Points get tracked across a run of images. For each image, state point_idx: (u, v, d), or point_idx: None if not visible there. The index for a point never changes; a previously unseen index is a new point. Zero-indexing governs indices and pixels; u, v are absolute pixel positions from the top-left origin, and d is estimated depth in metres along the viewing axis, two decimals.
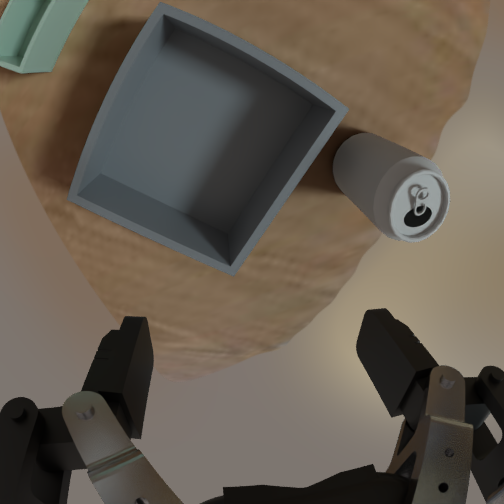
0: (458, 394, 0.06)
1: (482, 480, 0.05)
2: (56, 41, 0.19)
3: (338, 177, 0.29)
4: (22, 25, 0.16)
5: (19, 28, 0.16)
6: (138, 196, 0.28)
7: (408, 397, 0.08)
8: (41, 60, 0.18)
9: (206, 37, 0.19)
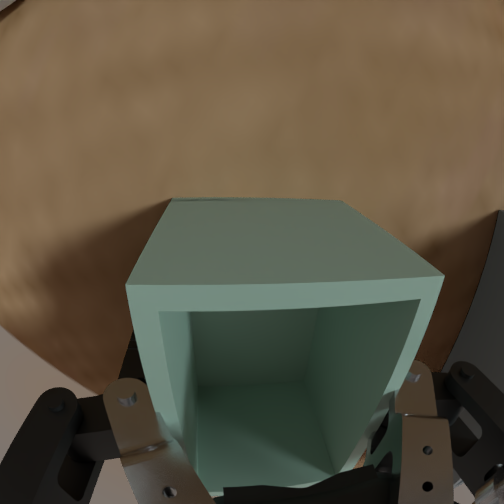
0: (423, 388, 0.07)
1: (465, 475, 0.05)
2: None
3: None
4: (190, 358, 0.10)
5: (191, 371, 0.10)
6: None
7: None
8: None
9: None
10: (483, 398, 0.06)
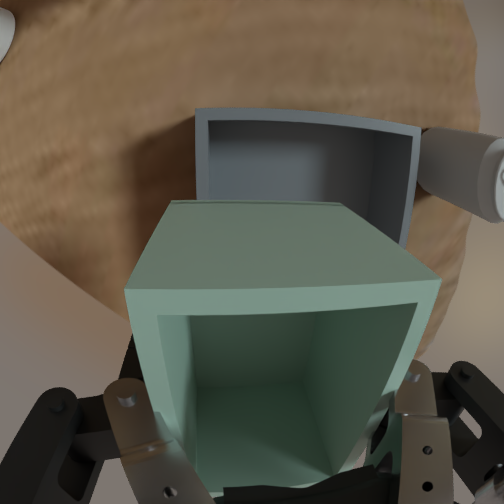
0: (422, 388, 0.07)
1: (465, 474, 0.05)
2: None
3: (427, 185, 0.26)
4: (189, 359, 0.10)
5: (190, 372, 0.10)
6: None
7: None
8: None
9: None
10: (483, 398, 0.06)
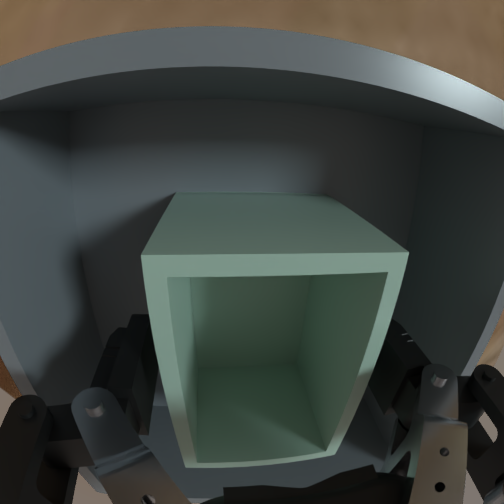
0: (450, 392, 0.06)
1: (478, 478, 0.05)
2: None
3: None
4: (190, 336, 0.11)
5: (192, 348, 0.11)
6: None
7: (400, 395, 0.08)
8: None
9: (124, 91, 0.07)
10: (502, 401, 0.05)
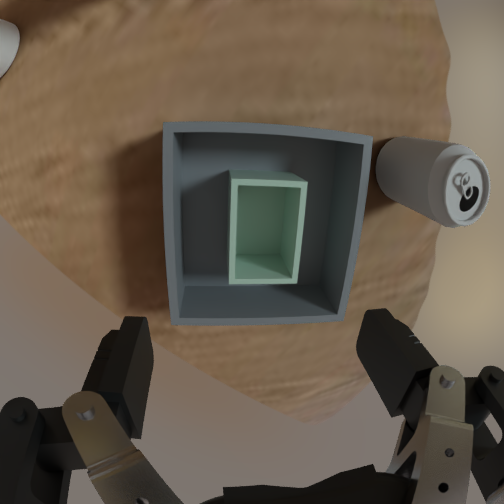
0: (458, 394, 0.06)
1: (482, 480, 0.05)
2: None
3: (388, 192, 0.29)
4: None
5: None
6: (229, 290, 0.32)
7: (408, 397, 0.08)
8: None
9: None
10: None
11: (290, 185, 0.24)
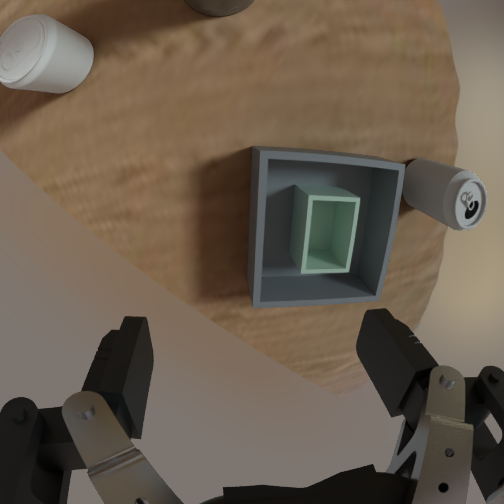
0: (458, 394, 0.06)
1: (482, 480, 0.05)
2: None
3: (410, 202, 0.37)
4: None
5: None
6: (290, 279, 0.40)
7: (408, 397, 0.08)
8: None
9: None
10: None
11: (348, 200, 0.32)
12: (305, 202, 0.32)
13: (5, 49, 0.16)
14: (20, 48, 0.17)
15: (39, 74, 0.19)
